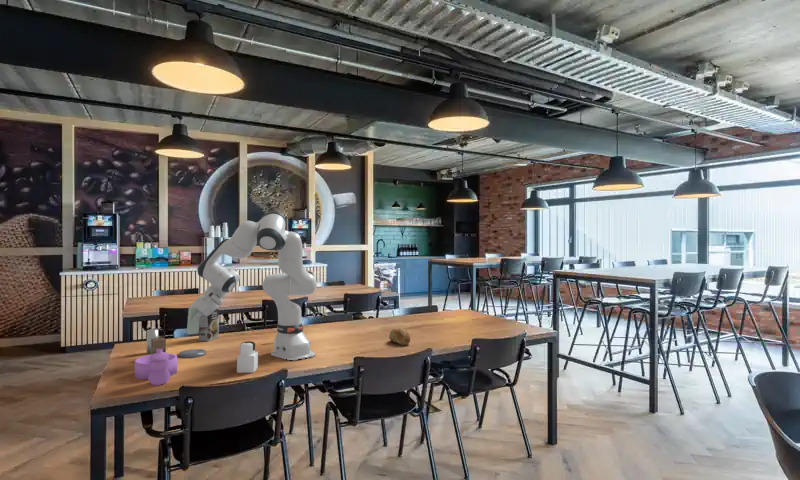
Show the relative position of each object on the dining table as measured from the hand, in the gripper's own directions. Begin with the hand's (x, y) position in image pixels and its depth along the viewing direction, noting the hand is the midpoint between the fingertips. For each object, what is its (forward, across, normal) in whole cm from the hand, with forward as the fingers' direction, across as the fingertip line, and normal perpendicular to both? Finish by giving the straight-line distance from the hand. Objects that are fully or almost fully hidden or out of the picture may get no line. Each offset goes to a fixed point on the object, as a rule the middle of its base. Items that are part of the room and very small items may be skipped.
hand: (190, 319), depth 209 cm
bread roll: (-54, +45, +78) cm, 105 cm away
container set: (+26, +25, -2) cm, 37 cm away
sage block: (+4, 0, +5) cm, 7 cm away
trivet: (+12, 0, +13) cm, 17 cm away
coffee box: (0, -27, +25) cm, 37 cm away
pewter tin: (+21, -16, +3) cm, 27 cm away
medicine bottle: (+4, +40, +20) cm, 45 cm away
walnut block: (+22, -4, +3) cm, 22 cm away
